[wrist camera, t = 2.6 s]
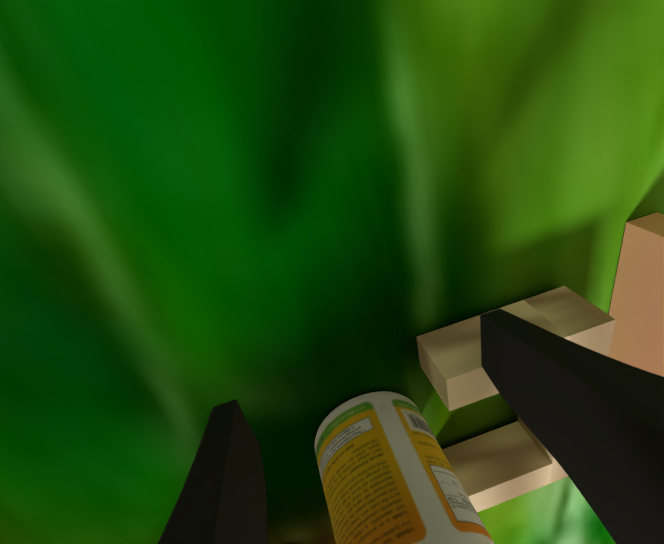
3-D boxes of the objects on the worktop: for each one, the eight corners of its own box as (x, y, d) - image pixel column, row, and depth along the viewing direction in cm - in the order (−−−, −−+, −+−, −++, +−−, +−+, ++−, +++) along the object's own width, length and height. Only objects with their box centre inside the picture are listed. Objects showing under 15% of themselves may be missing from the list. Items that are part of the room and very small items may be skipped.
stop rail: (586, 428, 24) (638, 481, 21) (626, 222, 16) (715, 257, 13) (608, 419, 24) (663, 471, 21) (657, 212, 17) (751, 244, 14)
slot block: (435, 471, 21) (459, 519, 19) (416, 336, 16) (446, 380, 14) (548, 428, 22) (584, 469, 20) (564, 285, 17) (615, 319, 15)
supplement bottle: (307, 472, 19) (368, 783, 11) (318, 392, 17) (408, 712, 9) (406, 459, 21) (527, 724, 12) (429, 382, 18) (599, 649, 10)
